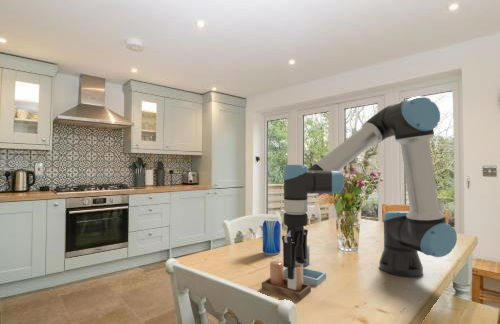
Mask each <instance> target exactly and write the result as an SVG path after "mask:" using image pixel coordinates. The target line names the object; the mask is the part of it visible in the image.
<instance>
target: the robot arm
mask: <svg viewBox="0 0 500 324" xmlns="http://www.w3.org/2000/svg"><path fill="white" fill-rule="evenodd" d="M440 120H441V113H440V108H439V107H438V105H437V104H436V103H435V102H434V101H433V100H431V99H430V98H428V97H425V96H415V97H411V98H407V99H404V100H402V101H399V102H397V103H393V104H390V105H387V106H385V107H383V108H382V109H380V110H379V111H378V112H377V113H375V114H374V115H373V116H371V117H370V118H369V119H368V120H366V121H365V122H364V123H363V124H362V125H361V128H360V129H359V130H358V131H356V132H355V133H354V134H352V135H351V136H350V137H348V138H347V139H346V140H344V141H343V142H341V144H339V145H338V146H336V147H335V148H334V149H333V150H331V151H330V152H329V153H327V154H326V155H324V156H323V157H322V158H320V160H318V161H316V162H315V163H314V164H313V165H311V166H310V167H309V168H308V166H307V164H286V165H285V166H284V168H283V177H282V178H283V179H282V180H283V211H284V213H283V224H284V225H285V226H286V227H287V230H286V234H285V235H282V237H281V240H282V241H281V242H282V252H283V253H282V257H283V258H282V260H283V268H288V278H287V279H288V288H290V289H293V290H296V268H295V265H300V266H302V285H303V283H304V282H303V268H304V266H303V263H305V264H306V261H305V260H306V259H307V245H308V231H309V230H308V229H307V228H304V227H307V226H308V214H307V212H308V211H309V210H308V207H309V206H308V194H309V195H310V194H311V195H312V194H313V195H315V194H317V195H318V194H319V195H320V194H322V195H323V194H328V195H329V194H331V195H333V194H340V193H342V191H343V190H344V187H345V177H344V175H343V173H342V172H341V170H342V169H343V168H345V166H347V165H348V164H350V163H351V162H352V161H354V160H355V159H356V158H358V157H359V156H360V155H362V154H363V153H364V152H366V151H367V150H368V149H370V147H372V146H373V145H374V144H380V143H381V142H383V141H384V140H386V139H388V138H391V137H394V138H395V141H396V142H397V143H399V145H400V147H401V153H402V154H401V155H402V162H403V168H404V169H403V170H404V176H405V182H406V183H405V184H406V190H407V198H408V204H409V211H406V210H405V211H404V210H402V211H398V210H396V211H386V212H385V213H384V214H383V220H382V221H383V250H382V252H381V256H380V259H379V264H378V265H379V269H380V270H382V271H384V272H386V273H388V274H391V275H396V276H399V277H407V278H408V277H409V278H411V277H412V278H413V277H414V278H415V277H420V276H422V275H423V274H424V267H423V264H422V261H421V259H420V256H419V254H418V253H419V252H420V253H422V254H424V255H425V256H431V257H435V258H442V257H445V256H447V255H449V254H450V253H452V251H453V249H455V247H456V244H457V241H458V239H457V238H458V236H457V235H458V234H457V231H456V229H455V228H454V227H453V226H452V225H450V224H449V223H447V220H446V219H447V218H446V214H445V213H443V211H442V212H441V211H440V210H439V206H438V193H437V187H436V179H435V172H434V164H433V157H432V151H431V149H432V148H431V143H430V141H431V139H432V138H433V136H435V133H434V129H435V128H436V127H437V126H438V125H439V122H440ZM304 259H305V260H304ZM295 261H296V262H295Z"/></svg>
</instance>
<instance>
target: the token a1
mask: <svg viewBox="0 0 500 324" xmlns="http://www.w3.org/2000/svg"><path fill="white" fill-rule="evenodd" d="M269 270H270V271H269V278H270V284H271V285H275V286H278V287H282V288H283V278H284V277H283V270H284V266H283V262H282V261H281V260H273V261H270V263H269Z"/></svg>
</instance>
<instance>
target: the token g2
mask: <svg viewBox="0 0 500 324" xmlns="http://www.w3.org/2000/svg"><path fill="white" fill-rule="evenodd" d="M304 260H305V259H304ZM305 261H306V264H305V263H303V267H307V266H310V244H307V259H306V260H305Z"/></svg>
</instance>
